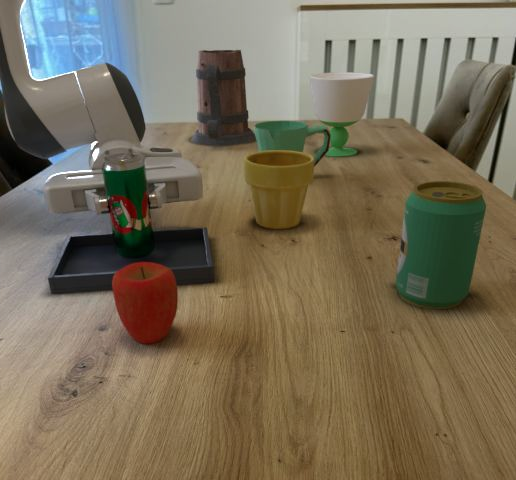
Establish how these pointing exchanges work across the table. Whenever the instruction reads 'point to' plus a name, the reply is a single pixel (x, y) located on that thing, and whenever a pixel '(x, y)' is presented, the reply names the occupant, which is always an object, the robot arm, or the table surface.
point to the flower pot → (278, 185)
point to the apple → (146, 300)
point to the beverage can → (439, 243)
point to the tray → (130, 260)
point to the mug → (289, 136)
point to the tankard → (221, 99)
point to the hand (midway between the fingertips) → (129, 205)
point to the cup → (340, 104)
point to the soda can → (128, 205)
